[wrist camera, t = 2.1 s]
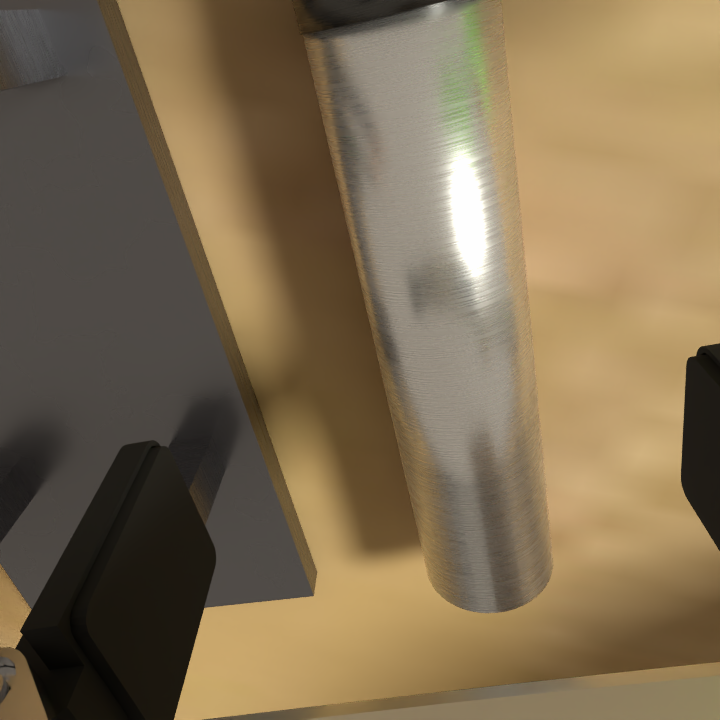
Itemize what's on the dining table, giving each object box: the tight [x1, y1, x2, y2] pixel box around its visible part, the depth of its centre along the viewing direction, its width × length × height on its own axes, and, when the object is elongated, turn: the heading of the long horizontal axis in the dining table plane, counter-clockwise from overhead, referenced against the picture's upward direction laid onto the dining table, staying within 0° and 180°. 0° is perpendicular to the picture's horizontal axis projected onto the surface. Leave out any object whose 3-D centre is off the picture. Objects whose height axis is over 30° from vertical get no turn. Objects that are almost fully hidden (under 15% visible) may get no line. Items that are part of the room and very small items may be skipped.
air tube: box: [292, 0, 553, 613], centre depth 18 cm, size 20×4×4 cm, turn 12°
